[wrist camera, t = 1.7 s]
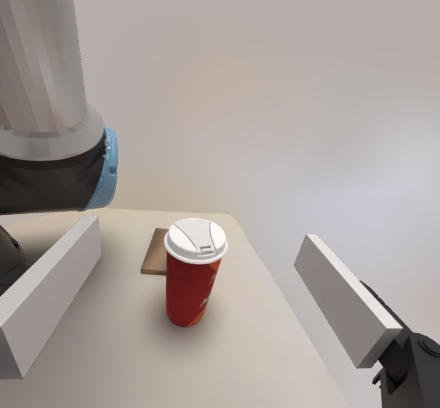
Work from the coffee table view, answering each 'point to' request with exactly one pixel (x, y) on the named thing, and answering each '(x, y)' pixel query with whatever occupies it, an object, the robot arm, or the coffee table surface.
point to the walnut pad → (156, 254)
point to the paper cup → (191, 267)
